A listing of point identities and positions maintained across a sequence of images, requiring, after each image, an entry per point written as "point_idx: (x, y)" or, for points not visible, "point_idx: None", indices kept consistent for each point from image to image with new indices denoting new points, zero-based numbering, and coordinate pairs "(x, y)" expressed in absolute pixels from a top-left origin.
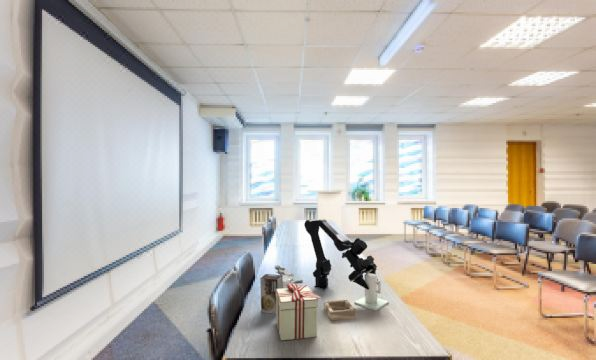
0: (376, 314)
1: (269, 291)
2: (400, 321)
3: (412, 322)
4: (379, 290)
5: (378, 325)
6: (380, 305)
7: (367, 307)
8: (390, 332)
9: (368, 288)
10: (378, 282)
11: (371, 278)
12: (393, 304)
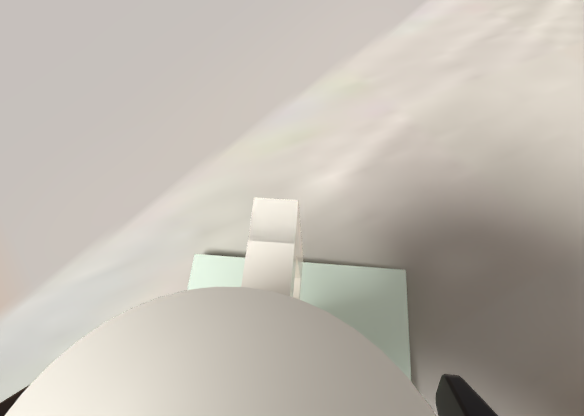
0: (448, 243)
1: None
2: (415, 98)
3: (376, 55)
4: (301, 252)
5: (573, 165)
6: (311, 272)
7: (407, 359)
8: (576, 88)
9: (464, 382)
10: (297, 231)
11: (417, 393)
12: (203, 218)
